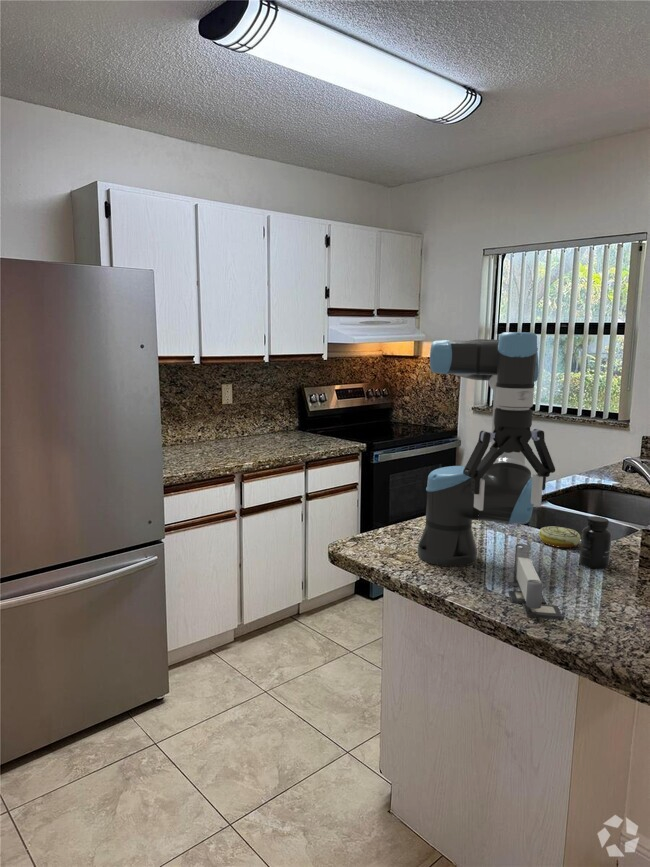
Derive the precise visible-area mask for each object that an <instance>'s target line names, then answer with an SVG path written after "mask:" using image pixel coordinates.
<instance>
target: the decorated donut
mask: <svg viewBox="0 0 650 867" xmlns="http://www.w3.org/2000/svg"><path fill="white" fill-rule="evenodd" d="M538 536H539V538H540V540H541V542H542V543H544V544H545V543H547V544H550V545H554V546H553V547H556V546H559V547H558V548H560V547H566V548H572V547H576V546H578V545H579V544H580V543H581V538H582V535H581V534H580V533H579V532H578V531H576V530H575V529H572V528H567V527H564V526H563V527H562V526H555V525H554V526H553V525H551V526H544V527H541V528H540V529H539V532H538ZM547 544H546V545H547ZM550 545H549V546H550Z"/></svg>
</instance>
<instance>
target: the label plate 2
mask: <svg viewBox="0 0 650 867" xmlns="http://www.w3.org/2000/svg"><path fill="white" fill-rule="evenodd" d="M522 607H523V610H524V612H525V615H526V617H528V618H529V617H530V618H531V617H532V618H540V619H555V620H557V619H558V620H564V619H563V618H564V617H563V615H562V612H561V610H560V609H559V606H558V605H557V604H556V605H555V604H546V605H543V604H541V608H539V609H533V608H529V607H527V606H526V603H522Z"/></svg>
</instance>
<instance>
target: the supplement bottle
mask: <svg viewBox="0 0 650 867" xmlns="http://www.w3.org/2000/svg"><path fill="white" fill-rule="evenodd" d="M609 522H610V521H609V519H608V518H605V517H603V516H596V515H594V516H588V517H587V522H586V526H585V527H584V528H583V529H582V532H581V538H580V549H579V550H580V552H579V563H580V564H581V565H582V566H583V567H585V568H589V569H594V570H605V569H607V568H608V567H609V565H610V556H611V548H612V536H613V535H612V532H611V531H610V530H609Z"/></svg>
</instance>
